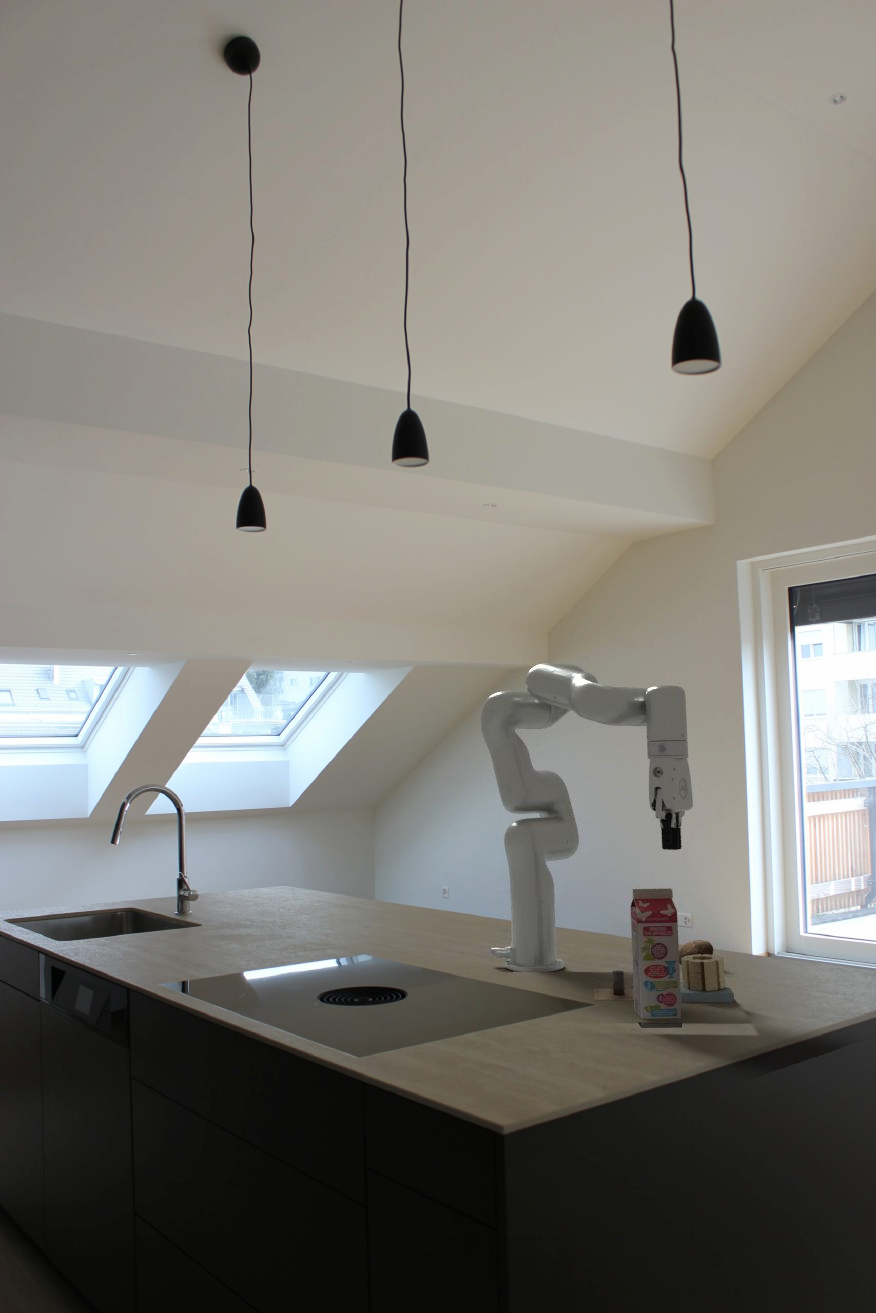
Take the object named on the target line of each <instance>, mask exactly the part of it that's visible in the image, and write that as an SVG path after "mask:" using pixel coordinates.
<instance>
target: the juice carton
mask: <svg viewBox="0 0 876 1313" xmlns="http://www.w3.org/2000/svg"><path fill="white" fill-rule="evenodd" d="M673 894H674V893H673V889H672V888H632V901H631V904H630V928H631V930H630V931H631V953H632V955H631V957H632V979H633V982H632V983H633V989H634V1000H633V1003H634V1004H633V1005H634V1010H635V1012H636V1014H637V1016H639V1018H640V1019H641V1020H643V1019H644V1020H646V1019H647V1020H648V1019H651V1020H652V1019H658V1020H659V1019H663V1020H664V1019H682V1016H683V1015H682V1014H683V1012H682V1002H681V990H680V982H681V970H680V969H681V968H680V963H679V950H680V948H679V947H680V946H679V924H678V922H679V921H678V910H677V908H676V905H675V903H674V900H673V898H674V897H673ZM637 1024H638V1025H639V1027H640V1028H641V1029H657V1028H658V1029H661V1028H662V1029H664V1028H666V1029H667V1028H668V1029H669V1028H670V1029H671V1028H672V1029H674V1028H677V1029H678V1028H683V1023H682V1022H648V1021H647V1022H645V1021H644V1022H643V1021H642V1022H641V1021H638V1022H637Z"/></svg>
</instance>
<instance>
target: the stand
mask: <svg viewBox="0 0 876 1313" xmlns="http://www.w3.org/2000/svg"><path fill="white" fill-rule="evenodd" d="M592 989H593V990H592V991H593V995H594V996H593V998H594V1001H634V988H625V972H624V971H623V970H612V988H592Z"/></svg>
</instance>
